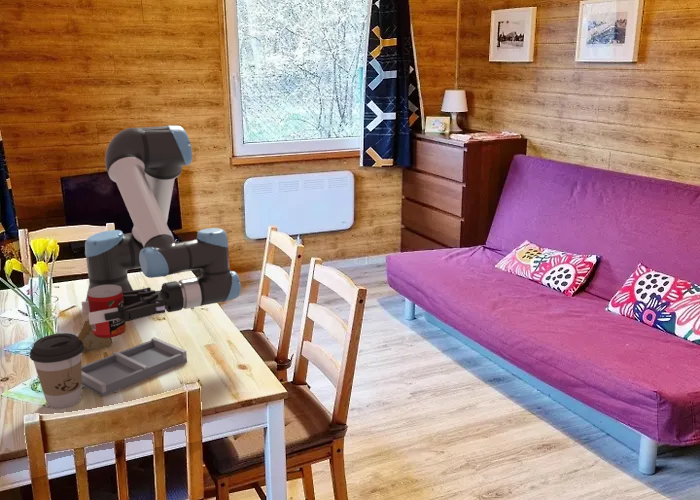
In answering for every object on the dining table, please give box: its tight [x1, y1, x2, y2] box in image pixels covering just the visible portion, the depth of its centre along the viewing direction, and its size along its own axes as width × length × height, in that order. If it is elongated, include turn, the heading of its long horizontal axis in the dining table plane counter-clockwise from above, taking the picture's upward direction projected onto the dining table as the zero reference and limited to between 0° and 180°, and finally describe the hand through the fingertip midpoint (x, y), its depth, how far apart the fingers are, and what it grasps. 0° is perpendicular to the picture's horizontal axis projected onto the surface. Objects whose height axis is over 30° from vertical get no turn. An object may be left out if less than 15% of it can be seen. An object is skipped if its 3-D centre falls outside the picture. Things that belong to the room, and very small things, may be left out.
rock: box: [76, 319, 113, 354], centre depth 177 cm, size 11×9×10 cm
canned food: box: [87, 285, 127, 338], centre depth 157 cm, size 8×8×11 cm
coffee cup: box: [29, 332, 84, 410], centre depth 148 cm, size 11×11×15 cm
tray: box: [82, 337, 188, 398], centre depth 165 cm, size 14×24×3 cm, turn 141°
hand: (85, 313), depth 154 cm, fingers closed on canned food, 8 cm apart
